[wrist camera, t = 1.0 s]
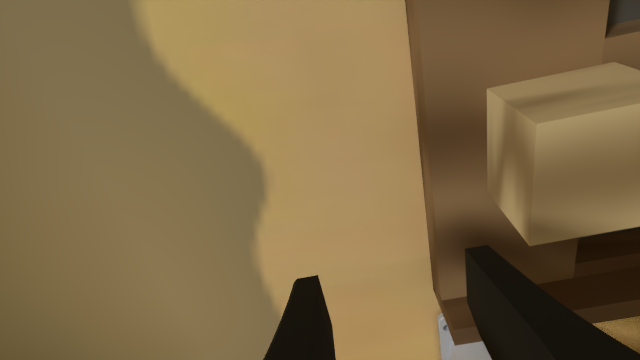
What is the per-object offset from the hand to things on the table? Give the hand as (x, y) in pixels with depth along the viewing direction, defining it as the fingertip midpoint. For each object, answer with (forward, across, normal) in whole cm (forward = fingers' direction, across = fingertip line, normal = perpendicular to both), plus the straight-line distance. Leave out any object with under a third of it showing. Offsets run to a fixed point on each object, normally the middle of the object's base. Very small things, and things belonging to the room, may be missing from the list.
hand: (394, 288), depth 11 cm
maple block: (+7, -8, 0) cm, 11 cm away
